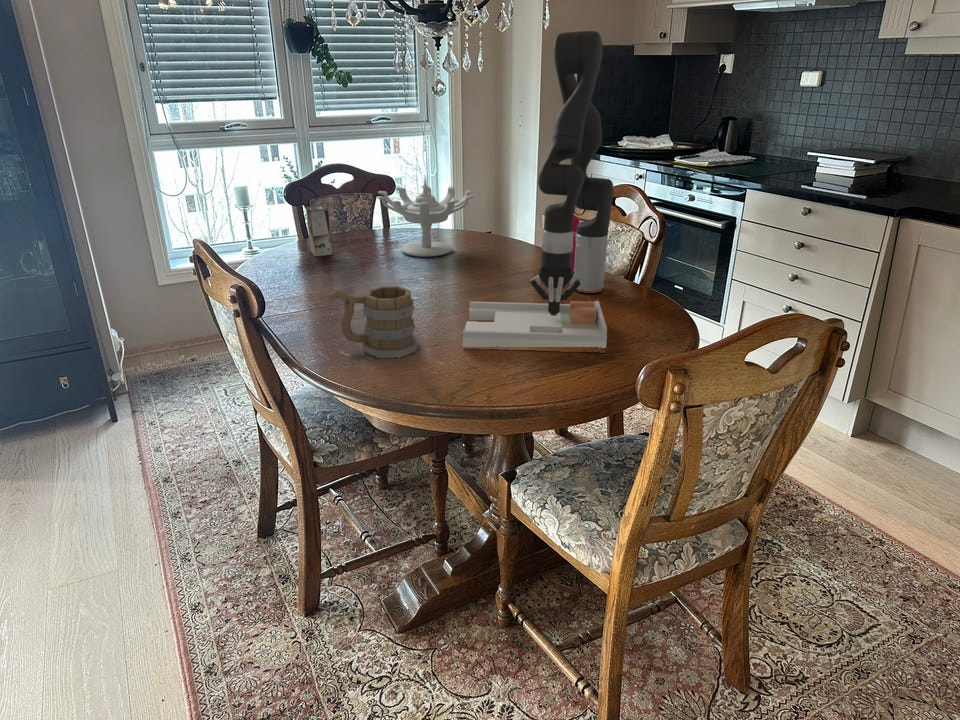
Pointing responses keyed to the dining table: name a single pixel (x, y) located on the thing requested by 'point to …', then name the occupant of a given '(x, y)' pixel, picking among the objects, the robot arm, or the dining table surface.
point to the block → (582, 312)
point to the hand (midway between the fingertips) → (553, 314)
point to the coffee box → (319, 230)
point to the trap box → (530, 326)
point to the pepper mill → (574, 240)
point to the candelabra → (425, 217)
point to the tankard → (381, 321)
